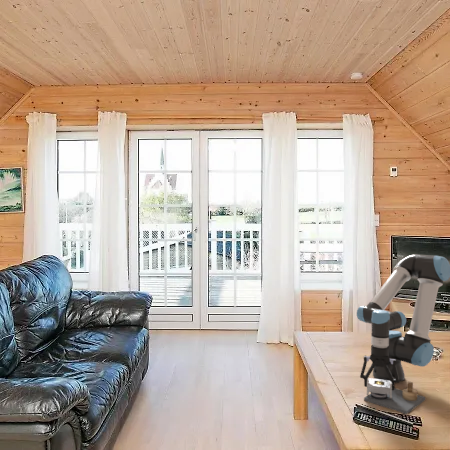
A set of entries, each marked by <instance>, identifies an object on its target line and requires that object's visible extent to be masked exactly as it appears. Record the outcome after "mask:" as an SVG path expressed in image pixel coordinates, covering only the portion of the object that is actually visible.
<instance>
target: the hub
mask: <svg viewBox="0 0 450 450" xmlns="http://www.w3.org/2000/svg"><path fill="white" fill-rule="evenodd" d="M376 384H378V385H383V383H381V382H376ZM370 394H371V397H373V398H375V399H379V400H384V399H387V394H380V393H373V392H370Z"/></svg>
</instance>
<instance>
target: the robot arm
mask: <svg viewBox="0 0 450 450" xmlns="http://www.w3.org/2000/svg"><path fill="white" fill-rule="evenodd" d="M414 277H417V281H418V282H419V285H418V291H417V294H416V298H415V303H414V309H413V313H412V317H411V322H410V326H409V330H408V331H406V332H405V333H404V336H403V333H402V331H399V330H398V329H401V328H403V327H405V325H406V324H407V317H406V315H405V314H404V313H403V312H402V311H399V310H397V311H396V310H394V311H389V310H386V308H387V307H388V306H389V304H390V303H391V302H392V301H393V299H394V298H395V296H396V295H397V294H398V292H399V291H400V290H401V288H402V287H403V286H404V285H405V283H406V282H409V281H411V279H412V278H414ZM449 279H450V262H449V260H448V259H447V258H446V257H444V256H439V255H432V254H431V255H430V254H420V253H415V254H411V255H408V256H406V257H404V258H402V259H401V260H400V261H398V262H397V263H396V264H395V266H394V267H393V268H392V273H391V274H390V275H389V276H388V278H387V279H386V281H385V282H384V283H383V285H381V287H380V288H379V290H378V291H377V292H376V293H375V294H374V296H373V297H372V298H371V300H370V301H369V302H368V303H367V305H360V306H359V307H358V308H357V310H356V316H357V320H358V321H361V322H363V323H366V324H371V336H370V337H371V338H370V341H371V342H370V344H371V347H370V355H368V356H367V355H364V356H363V364H362V367H361V372H360V379H362V380H363V381H364V382H363V383H364V384H363V386H364V387H365V388H366V396H368V395H369V394H370V392H368V384H369V378H370V375H371V374H372V376H373V378H374V379H381V380H389V381H390V398H392V390H395V387H396V384H397V383H398V384H399V383H401V382H403V381H405V378H406V376H405V372H404V368H403V364H402V362H404V363H407V364H411V365H413V366H416V367H417V366H418V367H425V366H428V365H429V364H430V362H432V359H433V356H434V353H435V351H434V350H435V349H434V347H435V346H434V345H433V344H432V343H431V340H432V339H431V338H430V336H429V334H430V329H431V325H432V319H433V315H434V310H435V305H436V302H437V296H438V291H439V288H440V287H442V286H443V284H444V282H446V281H449ZM369 360H370V361H371V365H370V366H369V368H368V370H367V371H366V368H367V363H368V362H369ZM365 371H366V373H365Z"/></svg>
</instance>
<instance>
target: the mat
mask: <svg viewBox="0 0 450 450" xmlns="http://www.w3.org/2000/svg"><path fill="white" fill-rule="evenodd" d="M363 400H364V401H365V402H368V403H371V404H373V405H377V406H380V407H383V408H386V409H389V410H393V411H396V412H399V413H402V414H404V415H408V414H409V413H410V412H411V411H413V410H414V409H416V408H417V407H418V406H419V405H420V404H422V403H423V402H424V401H426V396H423V395H419V394H417V400H416V401H409V400H405V399H404V398H403V389H399V388H395V390H392V398H390V395H387V399H384V400H379V399H375V398H373V397H371V393H369V395H366V396H365V397H364V398H363Z"/></svg>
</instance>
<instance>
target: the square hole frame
mask: <svg viewBox="0 0 450 450" xmlns="http://www.w3.org/2000/svg"><path fill="white" fill-rule="evenodd" d="M368 379H369V384H368V392H369V393H371V392H373V393H380V394H387V395H390V381H389V380H381V379H376V378H374V377H371V378H370V377H368ZM376 382H381V383H383V385H378V384H376Z"/></svg>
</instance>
